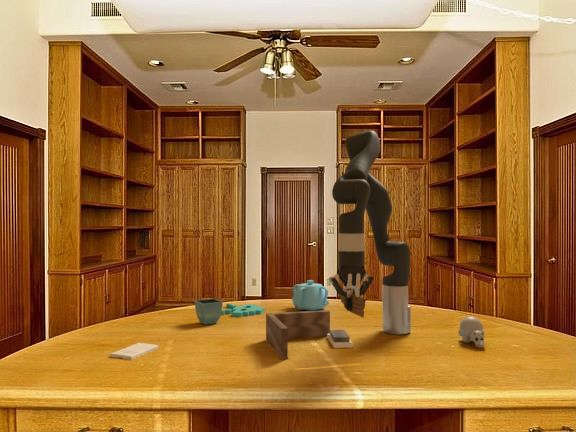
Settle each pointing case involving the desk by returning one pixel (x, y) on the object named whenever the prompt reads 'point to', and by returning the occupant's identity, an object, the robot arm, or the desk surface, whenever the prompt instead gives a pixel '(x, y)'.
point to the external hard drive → (134, 351)
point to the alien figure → (242, 310)
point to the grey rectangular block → (339, 336)
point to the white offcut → (339, 343)
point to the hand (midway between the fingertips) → (351, 310)
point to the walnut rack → (295, 328)
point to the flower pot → (208, 310)
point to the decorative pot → (310, 296)
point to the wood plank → (356, 305)
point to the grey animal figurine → (472, 331)
